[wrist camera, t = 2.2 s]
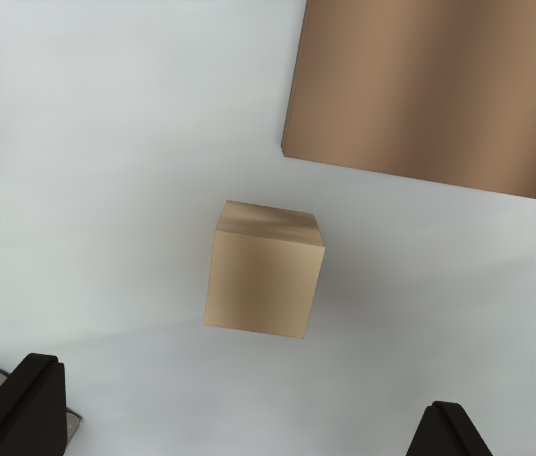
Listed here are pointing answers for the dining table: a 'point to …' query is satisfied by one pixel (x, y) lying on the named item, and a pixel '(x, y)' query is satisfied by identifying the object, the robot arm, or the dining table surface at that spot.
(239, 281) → the maple cube
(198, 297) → the dining table surface
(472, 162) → the walnut block
